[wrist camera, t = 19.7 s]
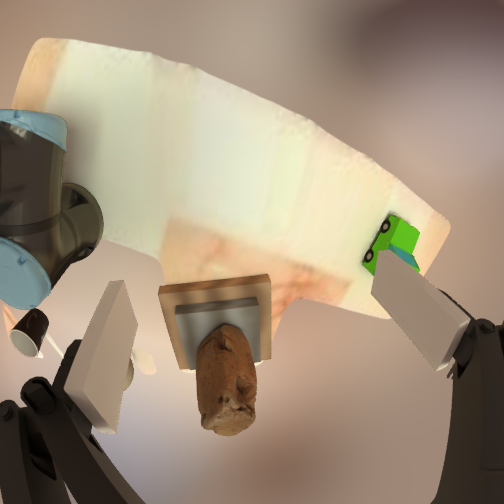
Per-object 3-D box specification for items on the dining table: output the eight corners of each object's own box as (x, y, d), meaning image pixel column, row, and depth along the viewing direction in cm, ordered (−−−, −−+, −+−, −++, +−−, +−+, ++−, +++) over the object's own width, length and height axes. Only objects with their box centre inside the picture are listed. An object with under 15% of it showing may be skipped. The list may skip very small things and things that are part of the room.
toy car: (411, 226, 58) (438, 242, 49) (385, 273, 62) (408, 294, 53) (385, 208, 55) (413, 224, 46) (356, 261, 59) (379, 283, 50)
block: (221, 362, 57) (232, 441, 39) (191, 349, 54) (193, 432, 36) (251, 330, 54) (273, 413, 36) (220, 315, 51) (232, 402, 34)
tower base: (180, 360, 63) (179, 378, 58) (159, 286, 53) (155, 303, 48) (268, 350, 66) (273, 367, 60) (267, 274, 56) (274, 290, 51)
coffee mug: (42, 335, 54) (28, 361, 45) (21, 312, 50) (4, 336, 41) (64, 320, 53) (49, 348, 44) (41, 294, 49) (23, 319, 40)
